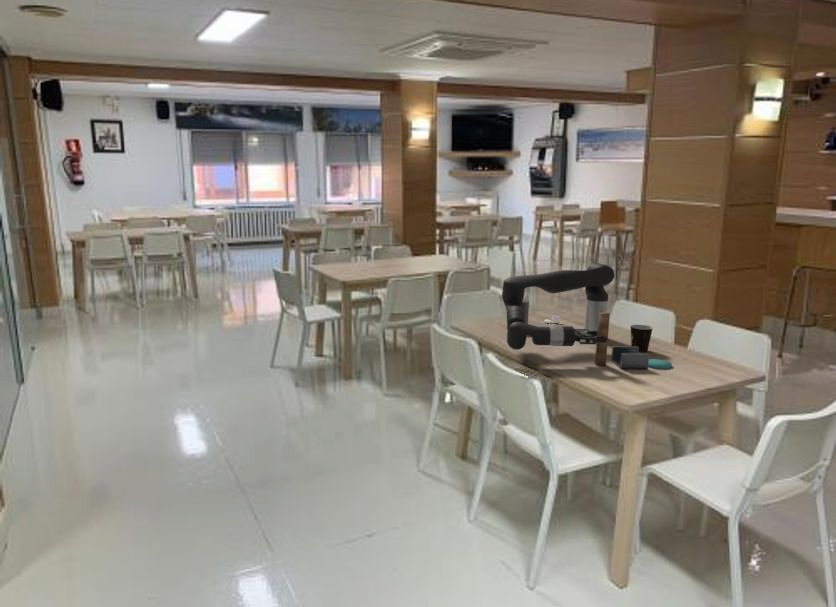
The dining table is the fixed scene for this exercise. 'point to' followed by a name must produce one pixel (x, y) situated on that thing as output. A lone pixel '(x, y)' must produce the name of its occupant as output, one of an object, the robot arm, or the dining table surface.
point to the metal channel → (629, 358)
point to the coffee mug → (641, 336)
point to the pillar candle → (525, 309)
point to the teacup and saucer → (553, 319)
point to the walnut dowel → (602, 331)
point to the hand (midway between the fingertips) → (602, 336)
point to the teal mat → (659, 364)
